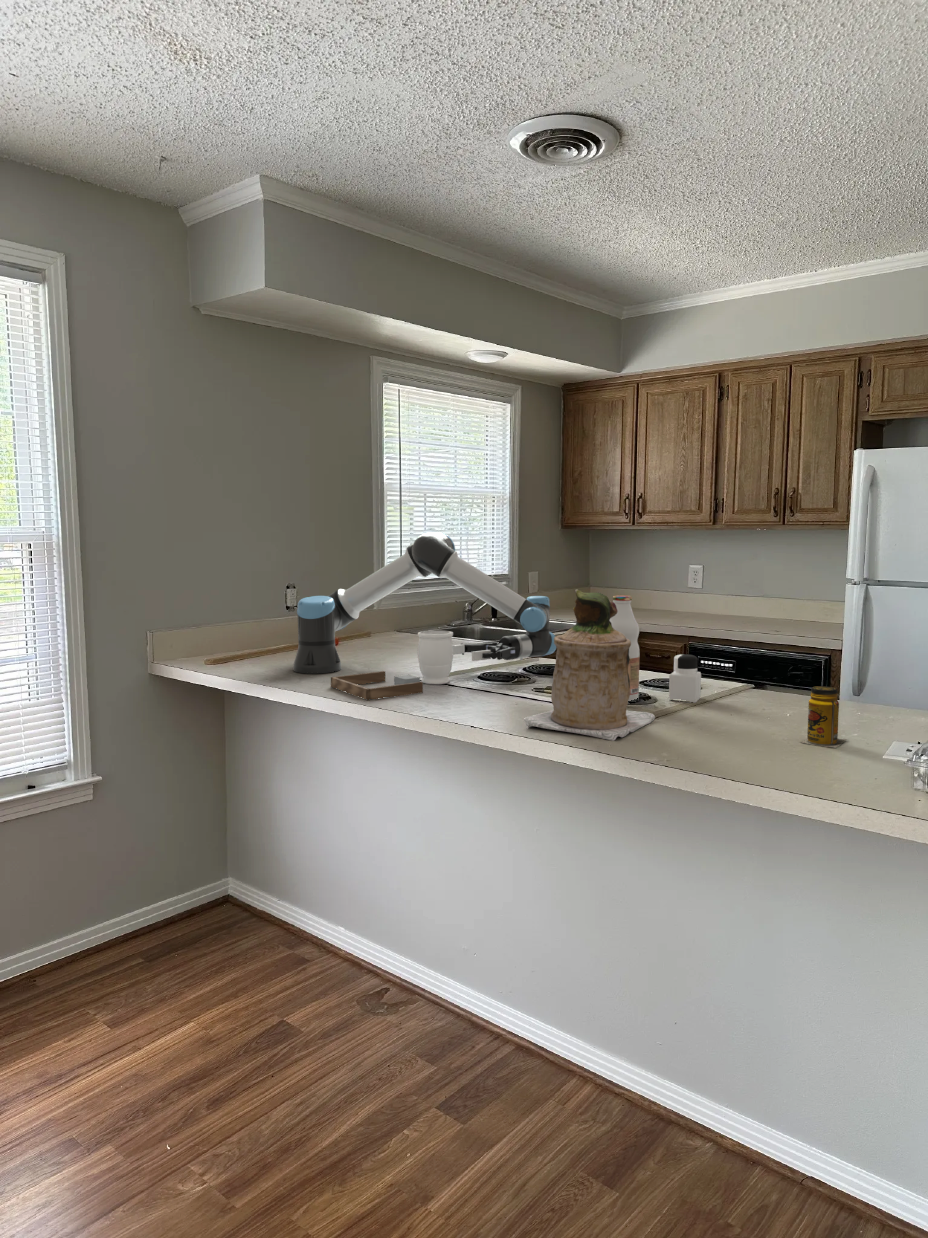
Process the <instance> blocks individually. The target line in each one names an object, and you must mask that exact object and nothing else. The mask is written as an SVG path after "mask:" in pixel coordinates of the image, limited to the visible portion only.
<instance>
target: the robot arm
mask: <svg viewBox="0 0 928 1238" xmlns="http://www.w3.org/2000/svg"><path fill="white" fill-rule="evenodd" d="M432 574H433V575H435V576H436V577H438V578H439V579H443V578H445V579H447V580H449V581H451V582H452V583H454V584H455V585H457V586H459V587H460V588H461V589H464V590H465V591H467V592H468V593H470V594H471V595H473V596H474V597H477V598H478V599H479V600H481V601H483V602H484V603H485V604H488V605H489V606H491V607H492V608H494V609H495V610H498V612H500V613H502V614H503V615H505V616H507V617H508V618H510V619H512V620H513V621H515V622H516V623H518V624H519V625H521V626H522V628H523V629H524V630H525V632H526V633H525V634H523V633H522V634H515V635H505V636H502V637H501V638H500V639H499V641H498V642H497V641H494V642H493V641H492V642H489V641H488V642H470V643H468V642H465V643H463V642H461V643H460V644H455V645H453V656H454V655H460V654H461V655H463V656H464V655H465V653H471V661H472V662H475V661H476V662H478V661H486V660H491V659H492V660H495V659H496V660H499V661H500V660H505V661H510V660H511V661H512V660H516V659H517V660H518V659H519V660H520V661H523V659H526V658H527V659H528V658H534V657H544V656H548V655H549V656H550V655H551V654H553V653H555V651H557V647H556V646H555V644H554V638H555V637H556V635H555V634H554V633H553V632H551V631H550V615H551V614H550V609H551V605H550V598H549V597H548V596H544V595H531V596H528V597H526V598H525V597H524V596H522V595H520V594H518V593H517V592H515V591H514V590H512V589H511V588H509V587H508V586H506V585H504V584H502V583H501V582H500V581H497V580H496V579H494V577H492V576H490V575H488V574H487V573H485V572H483V571H482V570H480V569H479V568H477V567H475V566H474V565H472V564H471V563H469V562H467V561H466V560H464V559H462V558H461V557H459V555H458V552H457V551H456V546H455V543H454V541H453V539H452V538H451V537H450V536H449V535H448V534H447V533H444V532H441V531H432V532H426V533H422V534H421V535H419V536H418V537H417V538H416V539H415V540H414V541H413V542H412V543H411V544H410V545H408V546H407V547H406V548H405V553H404V554H402V555H401V556H399V557H397V558H396V559H394V560H393V561H391V562H389V563H388V564H386V565H384V566H383V567H381V568H380V569H378V570H376V571H374V572H373V573H371V574H370V575H368V576H366V577H365V578H363V579H362V580H360V581H358V582H357V583H355V584H353V585H352V586H350V587H349V588H347V589H345V588H338V589H337V590H335V591H333V592H332V593H330V594H329V595H312V596H309V597H308V596H307V597H302V598H301V599H299V601H298V602H297V609H296V614H297V634H298V635H297V636H298V637H297V639H298V648H297V651H296V655H295V658H294V661H293V671H294V672H295V673H299V674H310V675H311V674H315V675H316V674H327V673H335V672H339V671H341V669H342V662H341V659H340V657H339V653H338V649H337V647H336V632H337V631H341V630H344V629H345V628H346V627H347V626H348V625H349V624H351V623H353V622H354V621H356V620H357V619H358V618H359V616H360V613H361V612H362V611H363V610H365V609H366V608H368V607H370V606H371V605H373V604H375V603H376V602H378V601H380V600H382V599H383V598H385V597H387V596H388V595H390V594H391V593H393V592H395V591H396V590H398V589H399V588H401V587H403V586H404V585H407V583H410V582H411V581H413V580H415V579H416V578H418V577H421V578H427V577H428V576H430V575H432ZM334 671H335V672H334Z"/></svg>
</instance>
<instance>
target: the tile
mask: <svg viewBox="0 0 928 1238" xmlns="http://www.w3.org/2000/svg"><path fill="white" fill-rule="evenodd" d="M414 682H421V678H420V676H416V675H411V674H402V675H394V676H393V685H399V684H407V683H414Z"/></svg>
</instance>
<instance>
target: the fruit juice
mask: <svg viewBox="0 0 928 1238" xmlns="http://www.w3.org/2000/svg"><path fill="white" fill-rule="evenodd" d="M632 601H633V597H632V596H631V595H625V594H624V595H621V594H620V595H619V594H618V595H613V596H612V602H614V603H615V605H616V608H617V611H618V612H617V614H616V615H615V616H613V617H612V618H610V620H609V621H610V622H611V624H612V627H613V629H615V630H616V631H619V632H621V633H622V634H623V635H624V636H625V637H626V638H627V639H629V640H630V641H631V646H630V647H629V657H630V660H629V666H628V674H629V679H630V696H629V700H628V701H631V700H634V699H637V698H638V699H639V696H640V695H639V692H640V691H639V689H640V645H639V642H638V638H639V636H640V635H639V634H640V625H639V623H638V622H637V620H636V617H635V615H634V611H633V607H632Z"/></svg>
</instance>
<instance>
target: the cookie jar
mask: <svg viewBox="0 0 928 1238" xmlns="http://www.w3.org/2000/svg"><path fill="white" fill-rule="evenodd" d="M574 593H575V596H576V599H575V600H574V602H575V606H573V608H572V610H573V612H574V613H573V614H574V617H575V619H576V623H575V625H573V626H572V627H571V628H569V629H568V630H567V631H565V632H564V634H559V635H555V638H554V644H555V646H556V654H555V658H556V659H555V663H554V664H555V665H554V670H553V672H552V673H553V674H552V676H553V677H552V684H551V693H550V696H551V697H550V698H551V704H552V706H553V707H552V708H553V709H550V710H549V711H544V712H541V713H540V712H539V713H537V714H534V715H529V716H525V717H523V719H522V720H523V722H524V723H525V727H526V729H529V728H530V727H537V728H541V729H547V730H553V731H554V730H555V731H559V732H567V733H574V734H579V735H585V736H588V737H589V736H590V737H594V738H598V739H599V738H600V739H603V740H608V741H615V740H617V738H619V737H620V738H624V737H626V736H628V734H630V733H634V732H636V731H638V730H639V729H641V728H643V727H645V726H646V725H649V724H651V723H652V722H653V721H655V718H656V716H655V715H654V713H653V712H651V713H650V712H647V711H636V710H628V709H627V707H628V705H629V703H628V700H629V696H630V679H629V674H628V666H629V660H630V657H629V647H630V646H631V641H630V640H629V639H627V638H626V637H625V636H624V635H623V634H622V633H621V632H619V631H616V630H615V629H613V627H612V624H611V622H610V621H609V620H610V618H612V617H613V616H615V615H616V614H617V612H618V611H617V608H616V605H615V603H614V602H613V600H612V601H611V600H610V598H609V597H608V596H607V595H605V594H603V593H601V592H582V590H579V589H575V590H574Z"/></svg>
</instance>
